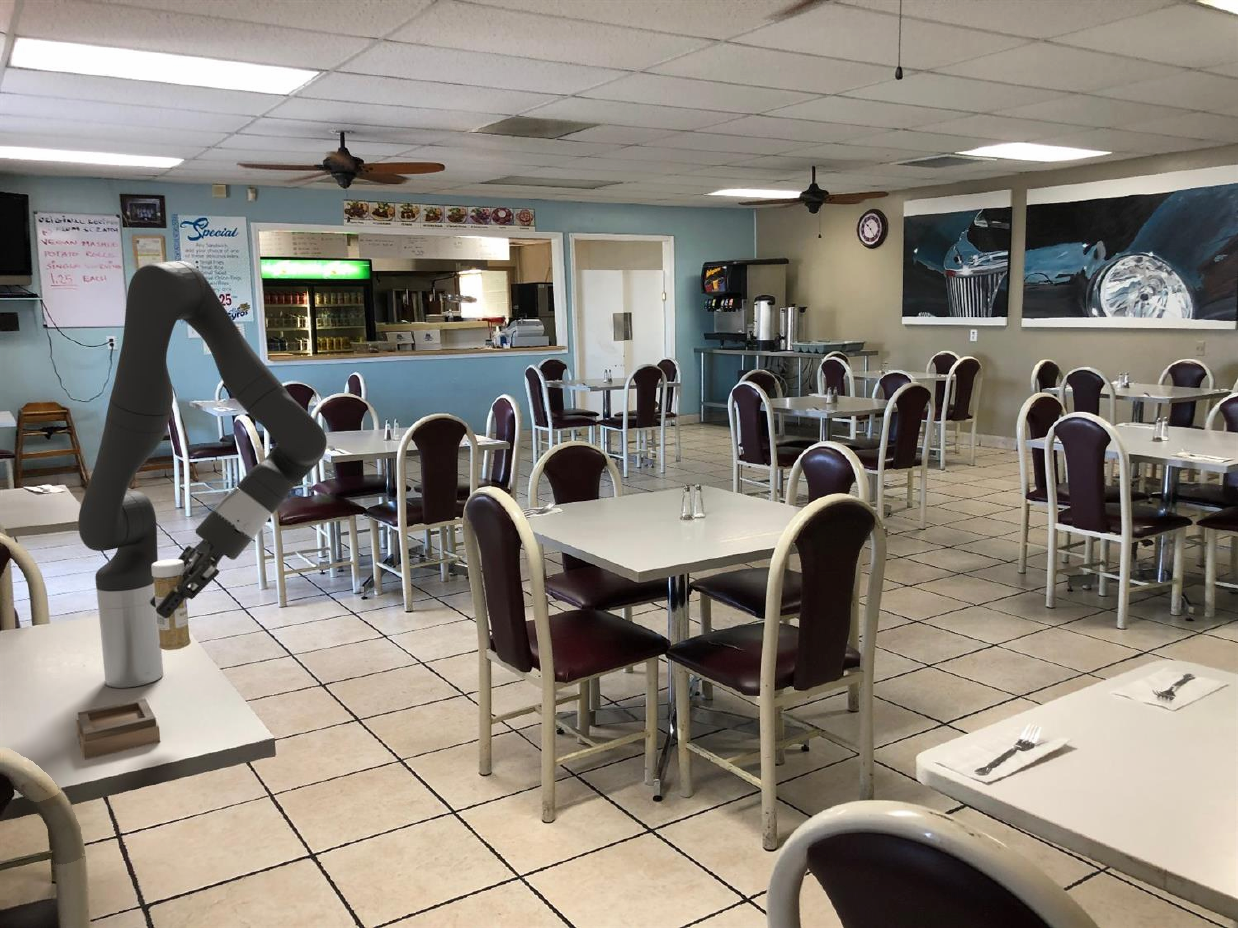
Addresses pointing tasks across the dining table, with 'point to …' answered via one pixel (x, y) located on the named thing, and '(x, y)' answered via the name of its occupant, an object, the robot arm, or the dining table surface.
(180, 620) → the sprinkles bottle
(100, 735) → the walnut plinth
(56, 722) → the dining table surface
